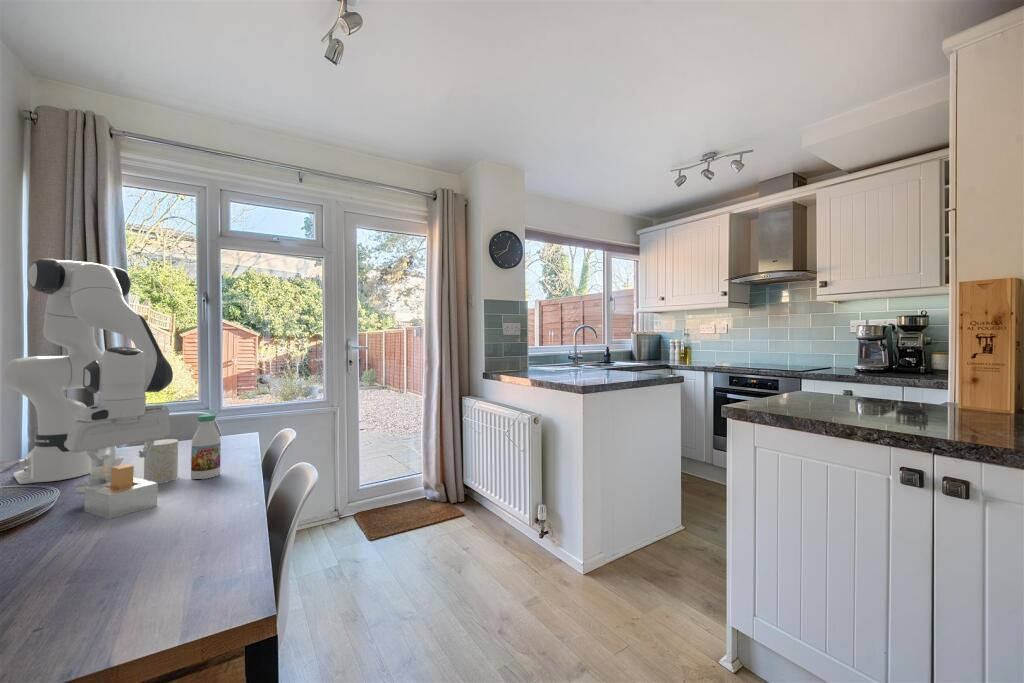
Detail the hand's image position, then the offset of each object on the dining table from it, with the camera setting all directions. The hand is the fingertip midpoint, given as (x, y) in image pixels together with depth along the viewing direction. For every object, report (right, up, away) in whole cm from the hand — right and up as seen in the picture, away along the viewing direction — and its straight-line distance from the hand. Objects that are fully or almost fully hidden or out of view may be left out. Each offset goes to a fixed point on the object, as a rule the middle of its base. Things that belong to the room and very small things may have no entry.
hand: (121, 461), depth 108 cm
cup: (-9, -13, +22) cm, 27 cm away
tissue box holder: (-4, -12, +2) cm, 13 cm away
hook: (-17, -13, +14) cm, 25 cm away
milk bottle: (+3, -13, +26) cm, 29 cm away
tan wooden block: (0, -12, 0) cm, 12 cm away
